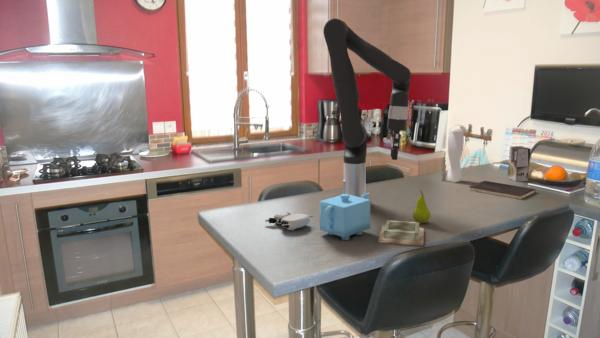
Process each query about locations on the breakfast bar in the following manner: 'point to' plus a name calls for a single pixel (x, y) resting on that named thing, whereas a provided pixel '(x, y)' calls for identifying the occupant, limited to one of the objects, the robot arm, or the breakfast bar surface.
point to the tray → (402, 233)
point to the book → (502, 189)
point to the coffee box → (519, 163)
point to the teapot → (345, 215)
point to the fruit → (421, 210)
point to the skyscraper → (454, 155)
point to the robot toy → (290, 220)
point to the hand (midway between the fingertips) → (393, 158)
